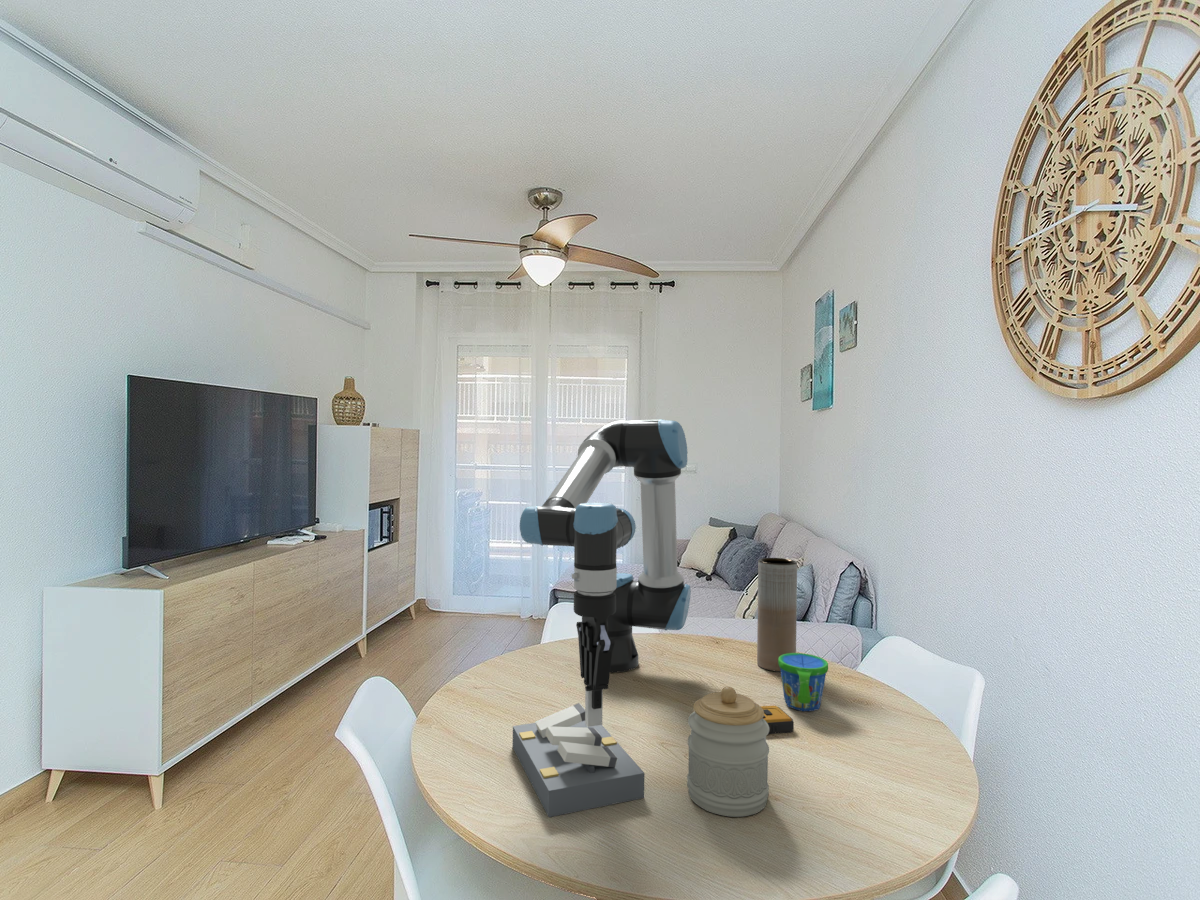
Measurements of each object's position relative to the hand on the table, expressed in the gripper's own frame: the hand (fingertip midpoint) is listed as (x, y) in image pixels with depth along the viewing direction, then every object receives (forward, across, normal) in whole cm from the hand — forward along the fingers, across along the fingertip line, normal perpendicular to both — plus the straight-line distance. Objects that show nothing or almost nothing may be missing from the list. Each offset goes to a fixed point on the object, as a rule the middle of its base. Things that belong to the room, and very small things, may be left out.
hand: (593, 723), depth 111 cm
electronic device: (+9, -5, +36) cm, 37 cm away
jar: (+8, +16, +17) cm, 25 cm away
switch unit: (+8, 0, -4) cm, 8 cm away
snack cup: (+8, -10, +53) cm, 55 cm away
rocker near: (+1, +7, -4) cm, 8 cm away
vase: (+9, -34, +64) cm, 73 cm away
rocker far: (+2, -7, -4) cm, 8 cm away
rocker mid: (+2, 0, -4) cm, 4 cm away
